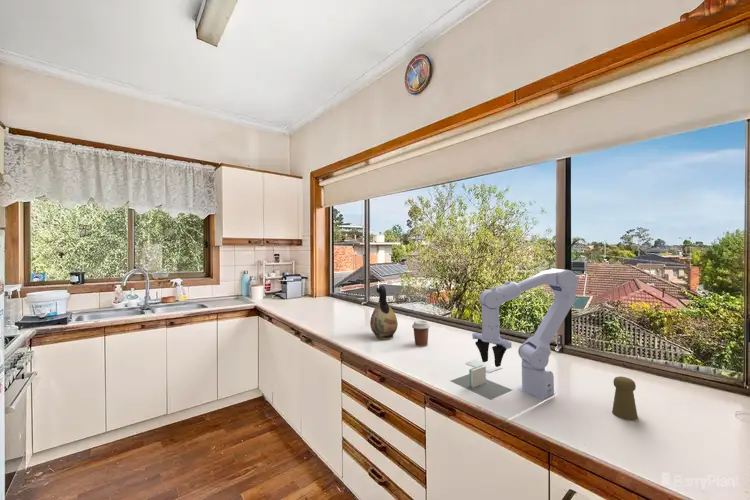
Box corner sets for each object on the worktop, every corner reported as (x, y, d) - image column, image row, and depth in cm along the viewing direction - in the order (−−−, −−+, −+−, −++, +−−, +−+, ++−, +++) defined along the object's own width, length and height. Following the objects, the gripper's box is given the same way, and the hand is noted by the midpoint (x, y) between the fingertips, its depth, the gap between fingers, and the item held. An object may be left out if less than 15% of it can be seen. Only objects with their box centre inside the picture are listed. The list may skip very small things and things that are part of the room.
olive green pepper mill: (610, 415, 94) (609, 378, 94) (614, 407, 98) (613, 372, 98) (636, 423, 90) (636, 384, 90) (639, 414, 94) (638, 377, 94)
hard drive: (465, 362, 136) (489, 372, 125) (478, 358, 140) (502, 367, 130) (465, 366, 136) (489, 376, 125) (478, 362, 140) (502, 371, 130)
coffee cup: (408, 345, 164) (408, 322, 164) (420, 341, 170) (419, 319, 170) (422, 349, 158) (422, 325, 157) (433, 345, 164) (433, 322, 164)
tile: (485, 382, 117) (485, 366, 117) (473, 387, 113) (472, 370, 113) (482, 381, 118) (482, 365, 118) (469, 385, 114) (469, 369, 114)
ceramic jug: (368, 335, 185) (367, 283, 185) (394, 333, 188) (393, 282, 187) (373, 343, 168) (372, 287, 168) (401, 341, 171) (400, 286, 171)
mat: (512, 391, 110) (512, 389, 110) (490, 401, 104) (490, 399, 104) (471, 374, 126) (471, 373, 126) (449, 382, 119) (449, 380, 119)
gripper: (466, 322, 114) (467, 360, 114) (501, 331, 102) (502, 373, 102) (479, 319, 118) (480, 356, 118) (514, 327, 106) (515, 368, 106)
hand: (491, 363), depth 110 cm, fingers open, 5 cm apart
